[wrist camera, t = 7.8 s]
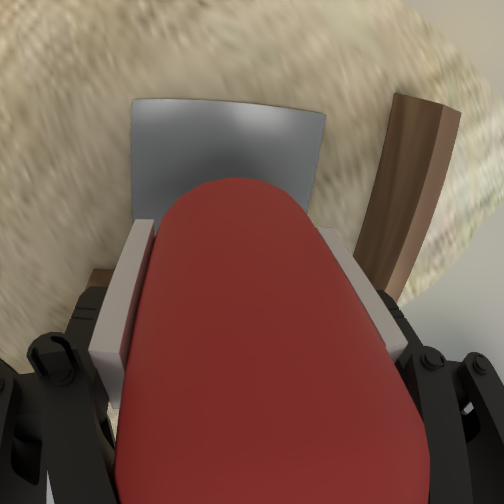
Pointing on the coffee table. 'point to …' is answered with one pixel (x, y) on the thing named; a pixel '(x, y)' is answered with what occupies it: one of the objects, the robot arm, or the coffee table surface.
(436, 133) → the wooden corner frame
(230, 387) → the beer can
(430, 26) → the coffee table surface
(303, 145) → the coaster
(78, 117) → the coffee table surface
